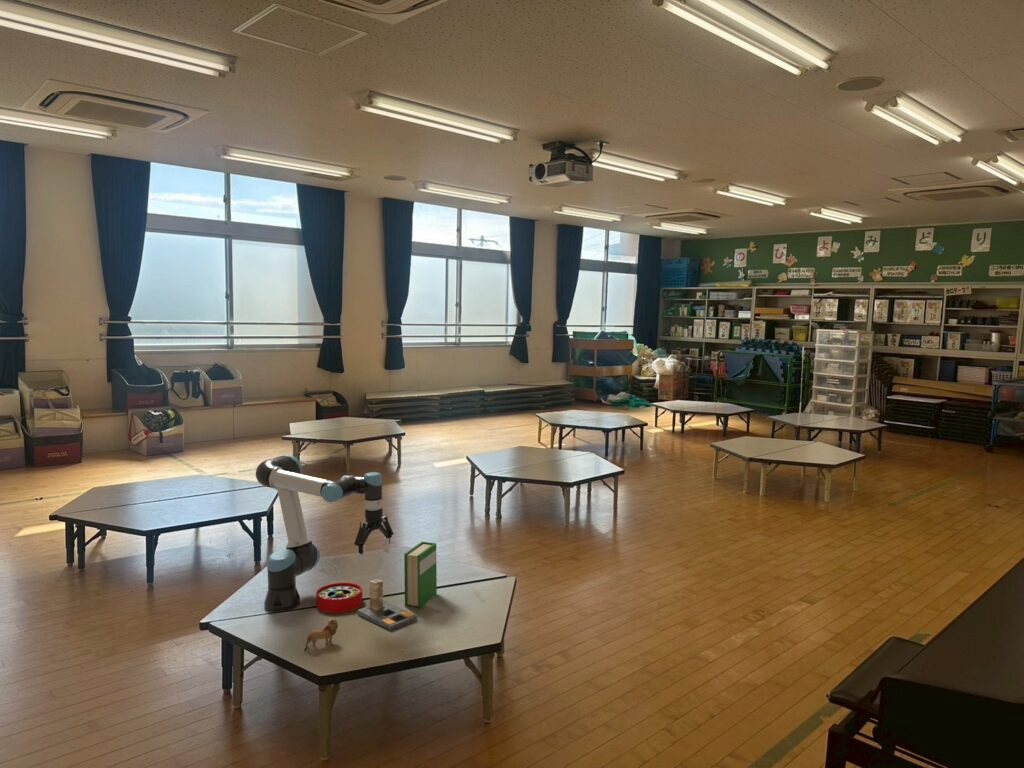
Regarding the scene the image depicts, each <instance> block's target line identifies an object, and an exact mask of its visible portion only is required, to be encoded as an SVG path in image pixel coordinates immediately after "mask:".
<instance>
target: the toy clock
mask: <svg viewBox="0 0 1024 768" xmlns="http://www.w3.org/2000/svg"><path fill="white" fill-rule="evenodd" d="M315 595H316V596H315V597H316V598H315V599H316V601H315V602H316V603H315V604H316V608H317V609H318V610H320V611H321V612H325V613H334V614H335V613H344V612H349V611H352V610H355V609H357V608H359V607H360V606H361V605H362V604H363V588H362V586H361V585H359V584H357V583H354V582H335V583H334V582H333V583H331V584H330V583H329V584H326V585H324V586H321V587H319V588H318V589H317V590H316V593H315Z"/></svg>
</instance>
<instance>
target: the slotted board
mask: <svg viewBox="0 0 1024 768" xmlns="http://www.w3.org/2000/svg"><path fill="white" fill-rule="evenodd" d="M356 614H357V615H358V616H359V617H362V618H363V619H366V620H368V621H370V622H371V623H374V624H376V625H377V626H380V627H381V628H383V629H386V630H387V631H390V632H391V631H394V630H396V629H399V628H401V627H404V626H407V625H409V624H412V623H414V622H417V621H418V615H416V614H414V613H412V612H410V611H408V610H405V609H403V608H402V607H399V606H397V605H395V604H392V603H390V602H389V601H386V600H383V609H381V610H378V611H376V612H375V611H373V610H371V609H370V605H368V606H365V607H362V608H360V609H357V613H356ZM386 615H387V616H386ZM397 620H399V621H397Z"/></svg>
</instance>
